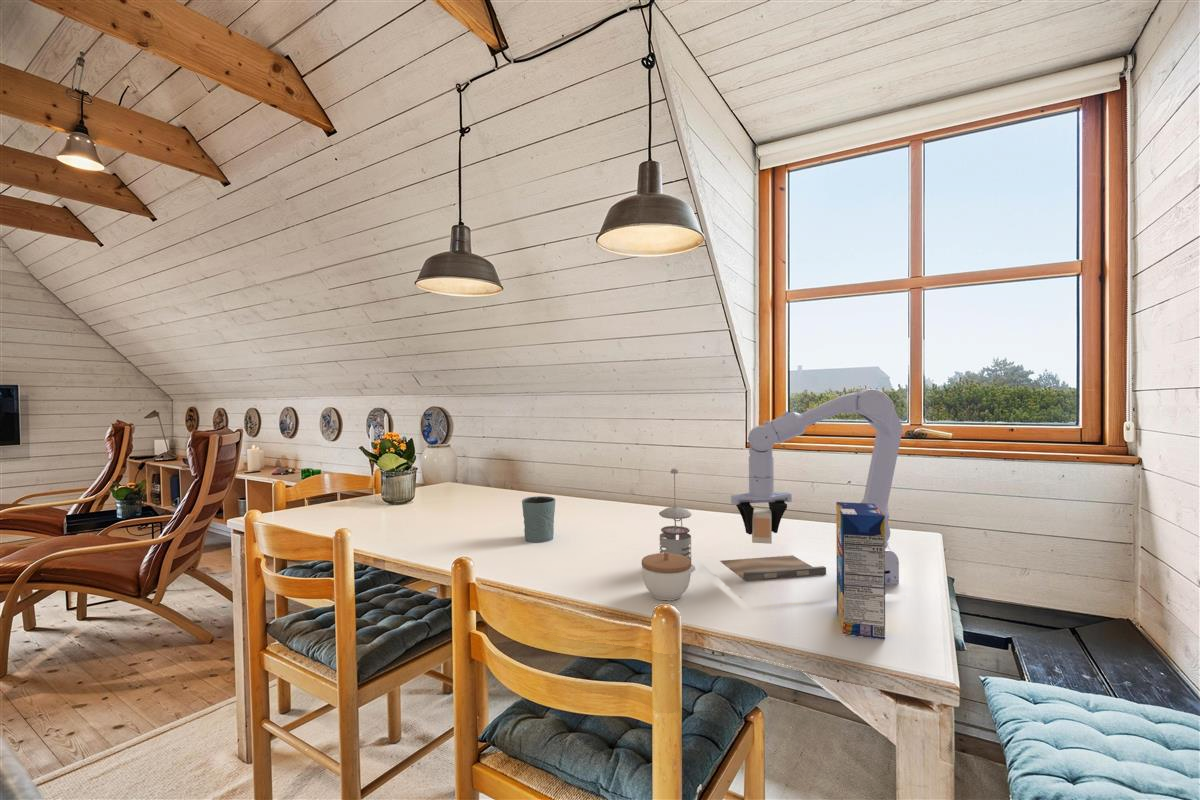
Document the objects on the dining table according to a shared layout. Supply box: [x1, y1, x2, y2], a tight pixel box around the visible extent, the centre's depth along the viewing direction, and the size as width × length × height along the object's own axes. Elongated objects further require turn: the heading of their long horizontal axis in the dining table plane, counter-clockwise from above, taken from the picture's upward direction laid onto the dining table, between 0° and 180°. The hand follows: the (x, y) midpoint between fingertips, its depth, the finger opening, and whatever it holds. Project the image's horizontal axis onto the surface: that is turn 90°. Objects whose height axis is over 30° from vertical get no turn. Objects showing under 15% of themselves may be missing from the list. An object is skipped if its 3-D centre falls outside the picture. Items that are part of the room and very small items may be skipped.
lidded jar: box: [641, 552, 692, 602], centre depth 121 cm, size 11×11×9 cm
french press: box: [658, 468, 696, 573], centre depth 140 cm, size 10×12×25 cm
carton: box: [751, 508, 773, 545], centre depth 133 cm, size 5×4×7 cm
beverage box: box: [835, 501, 886, 640], centre depth 104 cm, size 7×11×22 cm, turn 162°
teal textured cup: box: [521, 495, 556, 544], centre depth 168 cm, size 10×10×12 cm
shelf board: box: [719, 554, 827, 582], centre depth 135 cm, size 15×20×3 cm
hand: (761, 532), depth 133 cm, fingers closed on carton, 6 cm apart
